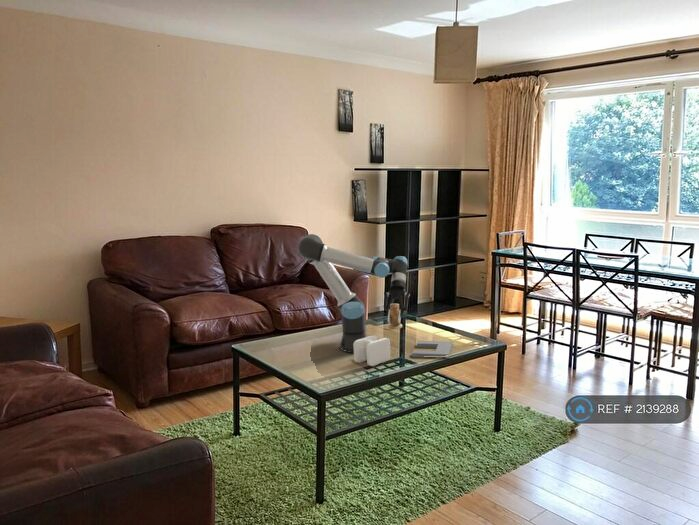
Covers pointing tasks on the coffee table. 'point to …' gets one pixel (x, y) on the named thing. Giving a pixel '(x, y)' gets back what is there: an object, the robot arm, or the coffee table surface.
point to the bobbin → (394, 316)
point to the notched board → (441, 347)
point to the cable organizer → (372, 350)
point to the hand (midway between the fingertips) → (393, 322)
